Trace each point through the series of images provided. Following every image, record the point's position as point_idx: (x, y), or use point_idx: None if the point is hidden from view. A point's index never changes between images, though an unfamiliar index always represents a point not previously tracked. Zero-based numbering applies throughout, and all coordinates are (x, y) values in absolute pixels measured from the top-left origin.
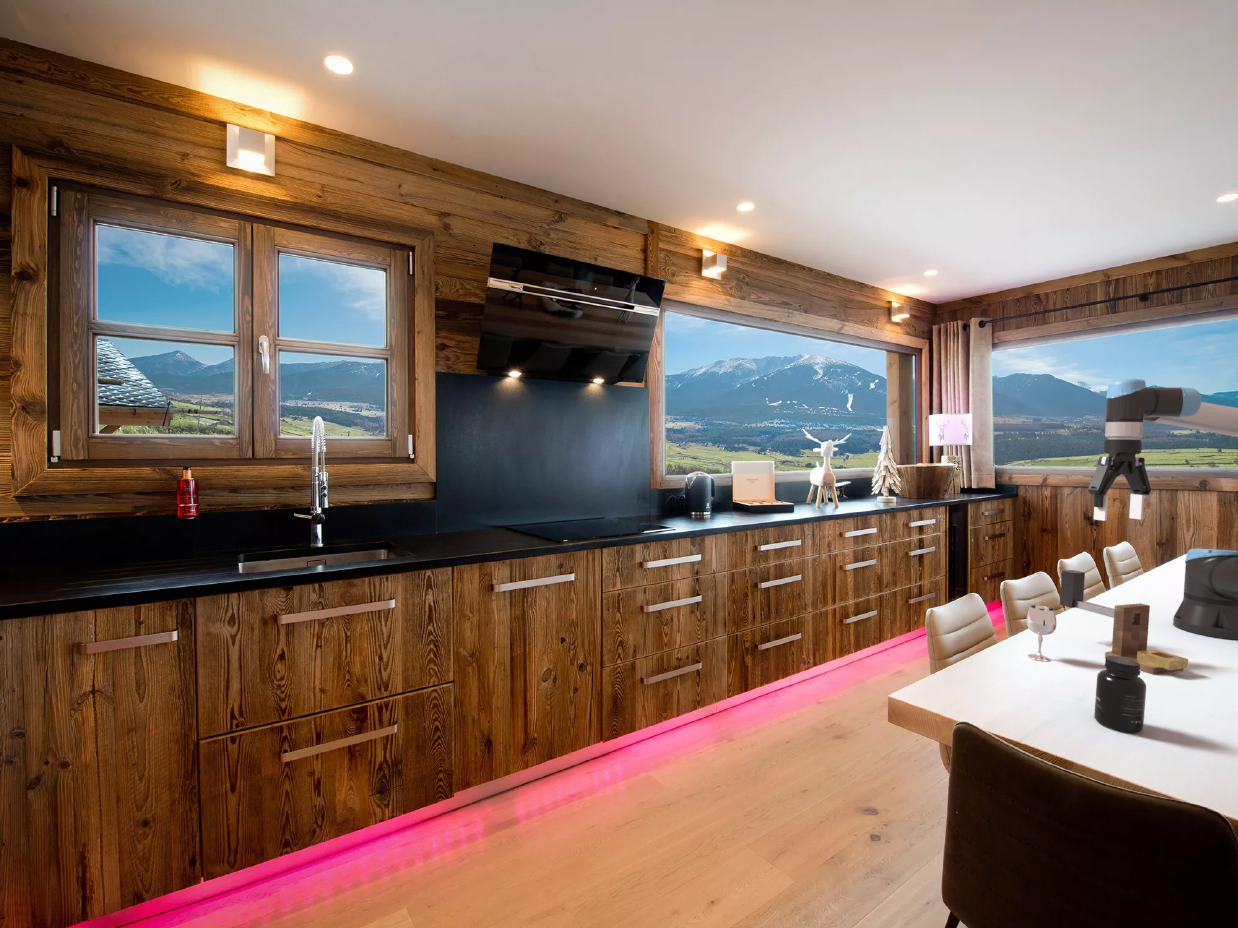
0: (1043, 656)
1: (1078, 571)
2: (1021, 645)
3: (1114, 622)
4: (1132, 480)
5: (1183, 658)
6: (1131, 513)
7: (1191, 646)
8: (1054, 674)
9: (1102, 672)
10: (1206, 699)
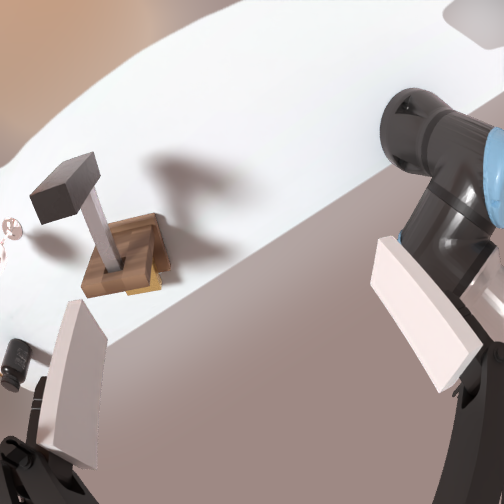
0: (13, 234)
1: (67, 201)
2: (11, 181)
3: (87, 267)
4: (448, 494)
5: (156, 287)
6: (391, 265)
7: (300, 181)
8: (9, 273)
9: (2, 372)
10: (119, 324)
